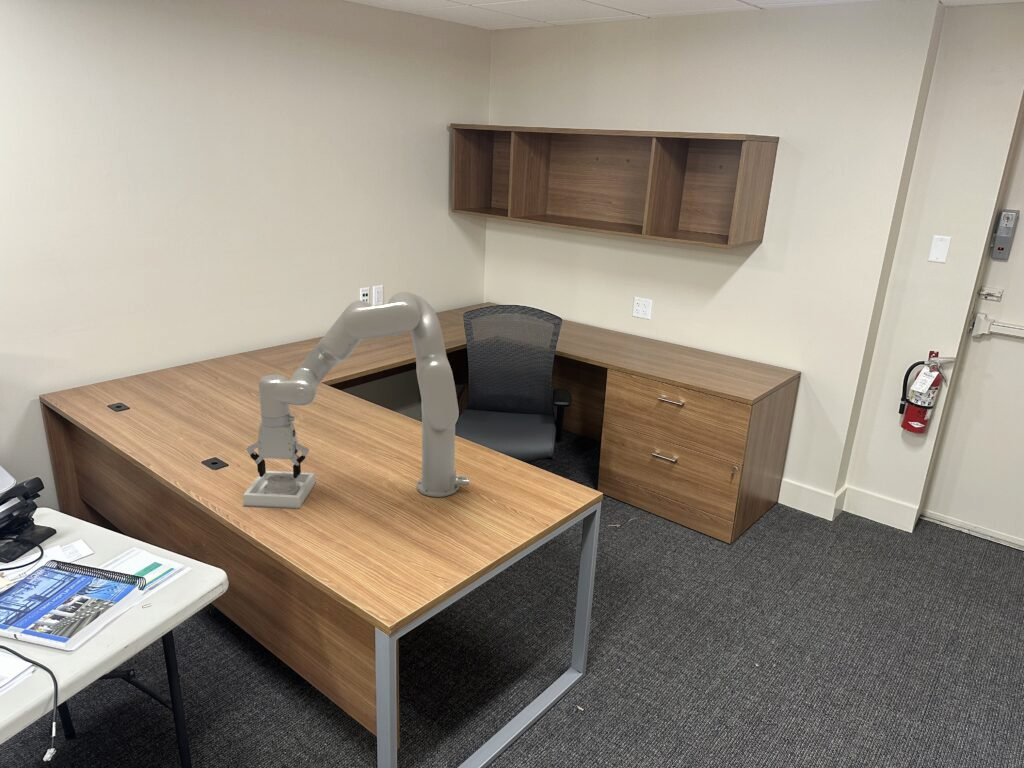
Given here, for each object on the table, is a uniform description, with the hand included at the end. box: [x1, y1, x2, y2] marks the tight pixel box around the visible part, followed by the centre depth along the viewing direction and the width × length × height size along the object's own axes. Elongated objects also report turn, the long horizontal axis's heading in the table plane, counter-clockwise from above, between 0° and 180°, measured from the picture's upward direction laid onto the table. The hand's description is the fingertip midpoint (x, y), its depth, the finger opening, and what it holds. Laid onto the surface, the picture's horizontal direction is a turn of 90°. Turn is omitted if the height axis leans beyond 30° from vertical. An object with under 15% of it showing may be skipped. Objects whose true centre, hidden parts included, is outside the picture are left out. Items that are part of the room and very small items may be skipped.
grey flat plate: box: [242, 481, 317, 510], centre depth 205 cm, size 16×17×1 cm
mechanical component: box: [263, 471, 300, 495], centre depth 204 cm, size 10×4×10 cm
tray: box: [242, 470, 316, 509], centre depth 204 cm, size 15×15×3 cm
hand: (279, 475), depth 203 cm, fingers open, 9 cm apart
